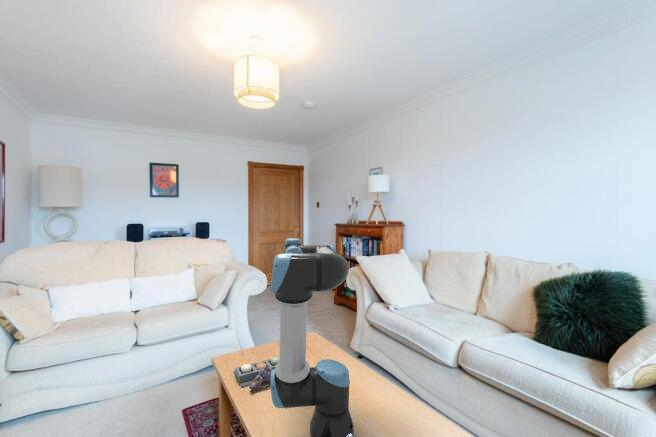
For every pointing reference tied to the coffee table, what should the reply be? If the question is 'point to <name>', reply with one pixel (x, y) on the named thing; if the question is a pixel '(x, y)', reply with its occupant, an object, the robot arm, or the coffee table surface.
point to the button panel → (250, 373)
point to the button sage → (274, 361)
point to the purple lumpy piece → (262, 379)
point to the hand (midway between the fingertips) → (292, 321)
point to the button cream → (245, 368)
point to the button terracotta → (260, 366)
